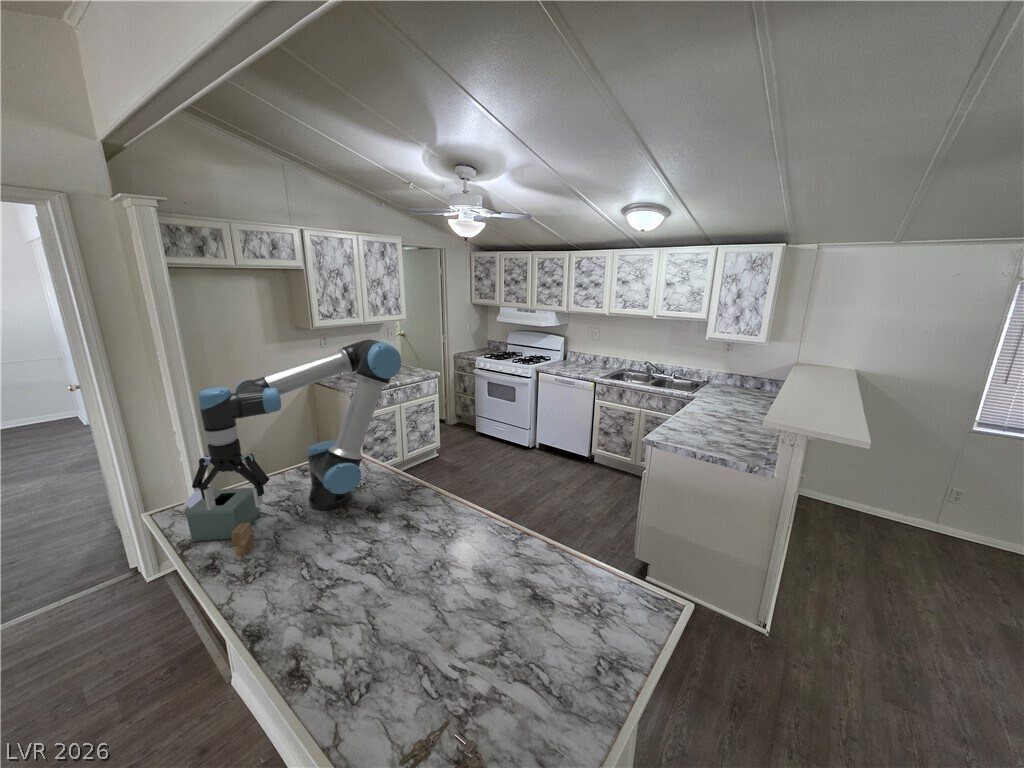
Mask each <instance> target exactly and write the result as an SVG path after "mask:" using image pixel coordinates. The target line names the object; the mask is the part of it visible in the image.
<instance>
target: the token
mask: <svg viewBox="0 0 1024 768" xmlns="http://www.w3.org/2000/svg"><path fill="white" fill-rule="evenodd" d="M253 534H254V533H253V530H252V525H251V524H250V523H242V524H239V525H238V527H237V528H236V529H235V530H234V531H233V532H232V533H231V535H232V540H231V541H232V544H233V549H234V553H235V557H242V556H247V555H248V554H249V552H251V550H252V549H253V547H254V546H255V540H254V535H253Z"/></svg>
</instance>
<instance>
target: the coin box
mask: <svg viewBox="0 0 1024 768" xmlns="http://www.w3.org/2000/svg"><path fill="white" fill-rule="evenodd" d="M213 494H214V499H215V504H216V505H215V506H214V507H213V508H212V509H211V510H207V505H206V500H205V499H203V498H202V499H201V500H200V501H199V502H197V503H196V504H195V505H194V506H192V507H191V508H190V507H189V508H188V510H186V511H185V516H186V517H185V518H186V521H187V525H188V530H189V532H190V533H189V534H190V537H191V541H192V543H204V542H206V543H207V542H223V541H233V540H232V535H231V533H232V532H233V531H234V530H235V529H236V528H237V527H238V525H239V524H242V523H250V524H251V526H252V525H253V524H255V522H256V521H257V519H258V518H259V517H260V516H261V512H260V507H257V508H256V504H255V499H254V493H253V487H243V488H242V487H239V488H222V489H213Z"/></svg>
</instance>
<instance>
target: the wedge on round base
mask: <svg viewBox="0 0 1024 768" xmlns="http://www.w3.org/2000/svg"><path fill="white" fill-rule="evenodd" d="M201 499H202V494H201V490H200V491H199V490H195V491H194V492H193V493H192V494H191V495H190V497H188V499H187V500H186V501H185V502H184V504H183V506H185V507H188V508H189V509H190V508H191V507H192V506H194V505H195V504H196V503H197V502H199V501H200V500H201Z"/></svg>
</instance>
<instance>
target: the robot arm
mask: <svg viewBox="0 0 1024 768" xmlns="http://www.w3.org/2000/svg"><path fill="white" fill-rule="evenodd" d="M401 368H402V356H401V354H400V352H399V351H398V350H397V348H396V347H394V346H393V345H391V344H389V343H387V342H383V341H378V340H375V339H363V340H361V341H357V342H355V343H352V344H349V345H346V346H343V347H340V348H339V349H338V351H336V352H333V353H331V354H328V355H324V356H322V357H318V358H316V359H313V360H310V361H307V362H304V363H301V364H298V365H295V366H292V367H289V368H286V369H283V370H280V371H277V372H273V373H270V374H268V375H265V376H263V377H258V378H256V379H244V380H241V381H239V382H238V383H237V385H236V387H235V388H234V390H235V391H234V392H233V393H232V391H231V389H230V388H229V387H225V386H220V387H217V386H216V387H211V388H206V389H203V390H201V391H200V392H199V393H198V395H197V398H198V405H199V411H200V415H201V420H202V424H203V428H204V435H205V440H206V443H207V450H208V455H204V456H202V457H201V458H199V459H198V468H197V471H196V474H195V477H194V479H193V481H192V482H193V483H192V485H191V488H192V489H199V490H200V492H201V494H202V498H203V499H205V500H206V505H207V510H211V509H212V508H213V507H214V506H215V505H216V504H215V499H214V494H213V490H214V489H213V486H212V485H210V484H211V483H212V482H213V480H214V478H215V477H216V476H217V475H218V473H219V472H221V473H225V472H232V473H233V472H235V473H237V474H240V476H242V477H243V478H245V480H247V481H248V482H249V483H250V484H251V485H253V487H252V488H253V493H254V499H255V504H256V508H257V507H259V508H260V507H261V506H262V505H263V504H264V500H263V495H264V493H265V489H264V486H265V485H266V484H267V483H268V482H269V481H270V478H269V477H268V475H267V474H266V473H265V471H264V470H263V469H262V468H261V466H260V465H259V464H258V462H257V461H256V459H255V456H254V454H253V453H249V454H248V455H242V451H241V450H242V448H241V442H240V439H239V431H238V427H237V426H238V425H237V421H236V420H237V419H243V418H249V417H255V416H261V415H265V414H272V413H276V412H279V411H280V410H281V409H282V398H281V395H284V394H288V393H291V392H293V391H296V390H298V389H302V388H304V387H307V386H310V385H312V384H316V383H317V382H320V381H323V380H326V379H327V380H328V379H329V378H333V377H334V376H338V375H340V374H343V373H345V372H347V373H349V374H350V373H354V372H355V375H356V378H357V383H356V385H355V388H354V391H353V393H352V397H351V399H350V403H349V405H348V408H347V411H346V413H345V415H344V419H343V421H342V424H341V428H340V430H339V433H338V436H337V439H336V440H326V441H321V442H317V443H314V444H312V445H310V446H309V447H308V448H307V450H306V453H307V455H306V457H307V461H308V469H309V475H310V481H311V486H310V491H309V495H308V505H309V507H310V508H311V509H313V510H317V511H327V510H334V509H337V508H339V507H342V506H344V505H346V504H347V503H349V502H350V501H351V500H352V498H353V491H352V490H354V489H355V488H356V487H357V486H358V485H359V483H360V481H361V478H362V471H361V468H360V465H361V463H362V460H363V458H364V457H363V455H362V452H361V449H362V446H363V443H364V440H365V437H366V435H367V432H368V430H369V427H370V424H371V422H372V419H373V415H374V413H375V410H376V407H377V405H378V402H379V399H380V396H381V393H382V391H383V389H384V387H386V386H388V385H389V384H390V382H391V378H393V377H394V376H396V375H397V374H398V373H399V371H400V370H401ZM209 464H212V466H213V468H212V469H211V470H210V472H209V474H207V476H206V477H205V475H206V472H207V470H208V467H209ZM204 478H205V479H204Z"/></svg>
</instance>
